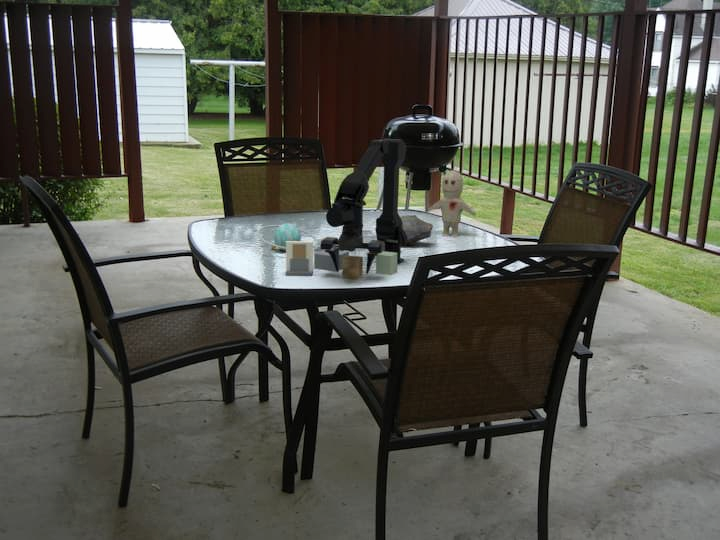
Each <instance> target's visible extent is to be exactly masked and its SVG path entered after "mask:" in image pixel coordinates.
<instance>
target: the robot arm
mask: <svg viewBox="0 0 720 540" xmlns="http://www.w3.org/2000/svg"><path fill="white" fill-rule="evenodd" d="M407 149H408V148H407V145H406V143H405V141H404V140H403V139H400V138H399V139H398V138H397V139H395V138H383V139H382V140H379V139H373V140H371V141H370V142H369V145H368V149H367V150H366V151H365V154H364V155H363V157H362V158H361V160H360V162H359V164H358V165H357V167H356V169H354V171H352V172H351V173H349V174H347V175H346V176H345V177H344V179H343V180H342V181H341V183H340V185H339V187H338V189H337V193H336V196H335V197H334V200H333V203H331V208H328V210H327V211H326V214H325V220H326V222H327V224H328V225H329V226H330V227H332V228H338V227H342V230H341V234H340V235H339V238H338V237H335V236H327V237H324V238H323V239H322V240H321V241H320V250H325V252H328V253H329V254H330V256H331V258H332V260H333V262H334V265H335V268H336V271H337V272H336V271H335V272H336V273H339V272H340V270H339V250H340V251H348V252H349V253H351V252H352V253H353V252H354V251H356V249H360V250H361V249H362V250H367V251H368V252H367V253H366V256H367V257H366V267H365V268H366V269H365V272H366V275H369V272H370V269H371V267H372V265H373V262H374V260H375V259H376V256H377V255H378V254H379V253H382V252H383V251H385V252H394V253H397V265H398V264H399V263H402V262H404V261H405V259H404V258H403V257H402V258H401V255H402V254H401V252H402V248H401V246H406V245H407V244H406V243H407V238H408V237H407V235H406V233H405V231H404V230H403V227H402V220H401V218H400V217H401V216H400V215H399V211H398V209H399V208H398V207H399V190H400V189H399V184H400V183H399V182H400V167H401V165H403V162H404V161H405V159H406V152H407ZM380 163H381V164H382V166H383V182H382V183H383V185H382V212H381V214H380V215H379V216H378V217H377V218H376V220H375V229H374V230H375V234H376V235H375V236H376V239H372V240H370V241H369V242H365V241H364V237H363V230H364V229H363V228H364V223H363V222H364V221H363V220H364V219H363V218H364V217H363V215H364V214H363V213H364V210H363V209H364V206H366V205H367V203H366V201H364V199H365V198H366V196H367V195H368V191H369V189H370V184H369V181H370V179H371V177H372V176H373V174H374V172H375V170H376V168H377V167H378V166H379V164H380Z"/></svg>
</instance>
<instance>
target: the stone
mask: <svg viewBox="0 0 720 540" xmlns="http://www.w3.org/2000/svg"><path fill="white" fill-rule="evenodd" d="M400 218H401V220H402V227H403V230H404V231H405V233H406V235H407V237H408V238H407V243H406V245H414V244H416V243H418V242H420V241H423V240H426V239H429V238H431V235H432V230H433V228H434V225H433V224H432V223H430V222H429V223H428V222H427V221H424V220H422V219H421V218H419V217H417V215H416V214H414V215H413V214H409V215H407V214H406V215H401V216H400Z"/></svg>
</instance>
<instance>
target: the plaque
mask: <svg viewBox="0 0 720 540" xmlns="http://www.w3.org/2000/svg"><path fill="white" fill-rule="evenodd" d="M313 246H314V244H313V241H309V240H308V241H306V240H305V241H304V240H303V241H302V240H301V241H286V251H285V259H286V260H285V267H286V268H285V269H286V271H285V276H286V277H287V276H288V277H291V276H292V277H312V276H313V273H314V268H313V267H314V265H313V264H314V260H313V258H314V253H313V252H314V250H313V249H314V248H313Z"/></svg>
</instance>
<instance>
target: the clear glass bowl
mask: <svg viewBox="0 0 720 540" xmlns="http://www.w3.org/2000/svg"><path fill="white" fill-rule="evenodd" d="M267 228H268V229H269V228H276V229H275V230H274V233H273V241H274V243H272V242H269V241H267V240H265V239H264V238H262V237H261V236H260V234H259V233H260V231H261V230H263V229H267ZM301 232H302V233H304V234H306V235H309V236H310V237H312V238H313V239H314V240H315V243H314V244H313V249H314V248H316V247H317V246H318V243H319V241H318V239H317V237H316V236H314V234H312V233H310V232H308V231H306V230H304V229H302V228H299V227H297V226H296V225H294V224H293V223H288V222H287V223H286V222H284V223H283V224H271V225H269V224H268V225H265V226H262V227H260V228H258V229H257V231H256V236H257V237H258V239H259V240H261V241H262V242H263V243H265V244H267V245H269V246H270V249H271V250H275V249H276V248H278V249H279V250H281V251H283V252H286V241H302V234H301Z"/></svg>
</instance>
